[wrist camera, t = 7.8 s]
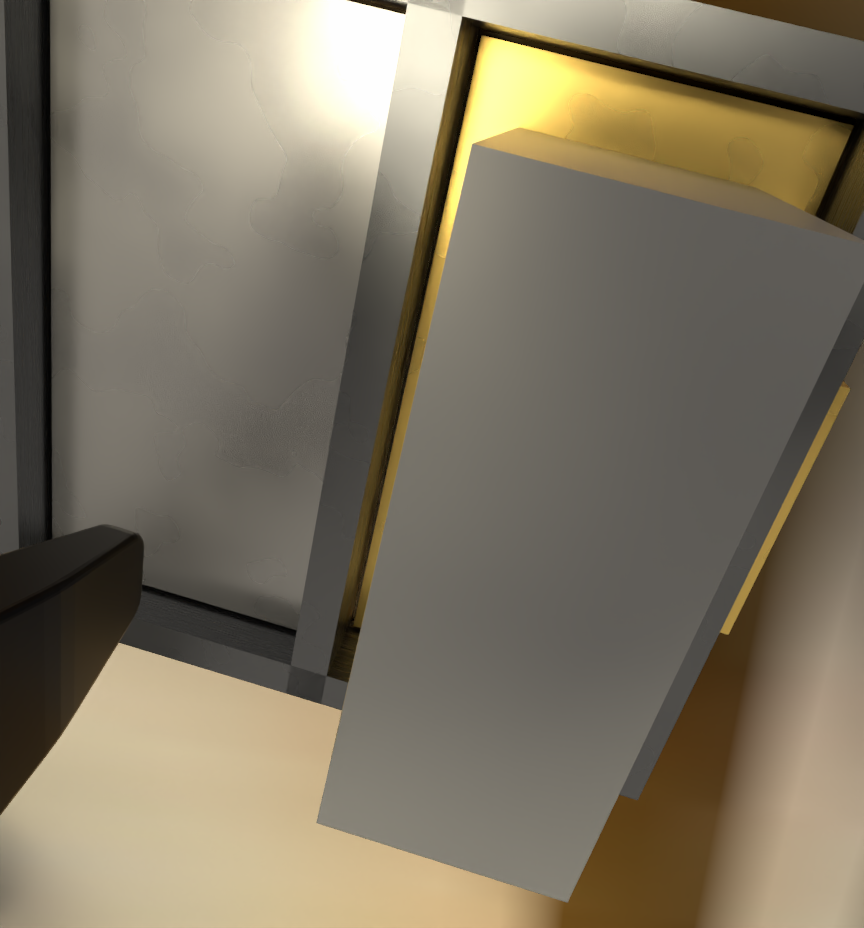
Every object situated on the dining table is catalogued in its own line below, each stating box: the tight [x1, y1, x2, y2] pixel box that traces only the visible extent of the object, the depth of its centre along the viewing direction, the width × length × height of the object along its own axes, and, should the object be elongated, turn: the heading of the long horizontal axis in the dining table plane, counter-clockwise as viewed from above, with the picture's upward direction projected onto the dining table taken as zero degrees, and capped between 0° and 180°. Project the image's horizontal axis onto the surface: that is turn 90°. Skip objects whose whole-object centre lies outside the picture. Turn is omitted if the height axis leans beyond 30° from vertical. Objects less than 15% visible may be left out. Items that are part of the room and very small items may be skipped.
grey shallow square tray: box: [0, 0, 864, 800], centre depth 15 cm, size 14×15×2 cm
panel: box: [317, 127, 864, 902], centre depth 12 cm, size 10×4×6 cm, turn 167°
